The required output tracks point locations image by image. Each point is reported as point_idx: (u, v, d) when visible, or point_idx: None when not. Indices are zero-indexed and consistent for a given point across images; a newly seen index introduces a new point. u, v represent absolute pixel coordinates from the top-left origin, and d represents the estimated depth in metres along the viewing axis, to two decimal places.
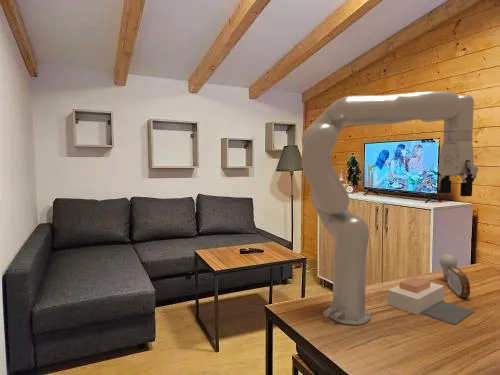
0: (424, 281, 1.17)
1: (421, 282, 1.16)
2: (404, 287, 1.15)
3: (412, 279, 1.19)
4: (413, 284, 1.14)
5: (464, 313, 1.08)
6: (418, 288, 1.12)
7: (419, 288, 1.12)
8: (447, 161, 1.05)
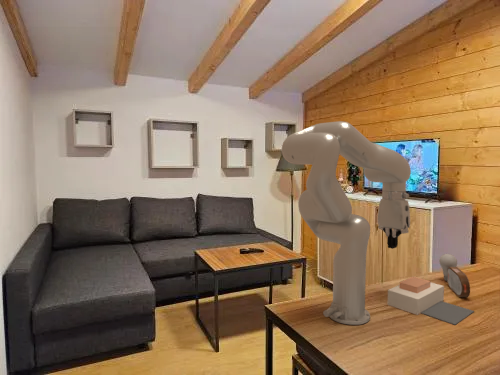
0: (424, 281, 1.17)
1: (421, 282, 1.16)
2: (404, 287, 1.15)
3: (412, 279, 1.19)
4: (413, 284, 1.14)
5: (464, 313, 1.08)
6: (418, 288, 1.12)
7: (419, 288, 1.12)
8: None
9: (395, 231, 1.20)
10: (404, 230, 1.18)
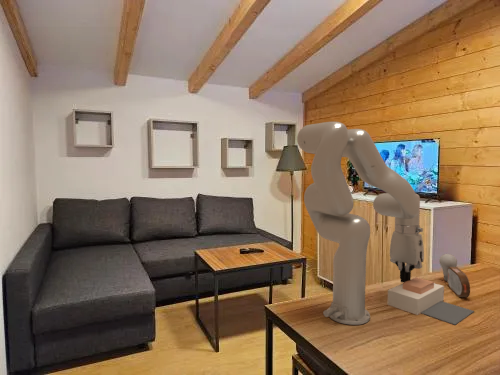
0: (427, 282, 1.16)
1: (425, 283, 1.15)
2: (407, 288, 1.14)
3: (415, 280, 1.18)
4: (417, 285, 1.13)
5: (464, 313, 1.08)
6: (422, 289, 1.11)
7: (422, 289, 1.12)
8: None
9: (408, 266, 1.17)
10: (418, 265, 1.15)
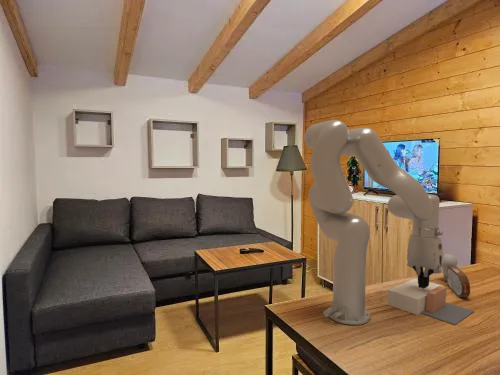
0: (443, 303, 1.13)
1: (440, 304, 1.11)
2: (429, 298, 1.09)
3: (441, 294, 1.11)
4: (435, 305, 1.09)
5: (464, 313, 1.08)
6: None
7: None
8: None
9: (427, 270, 1.12)
10: (437, 270, 1.10)
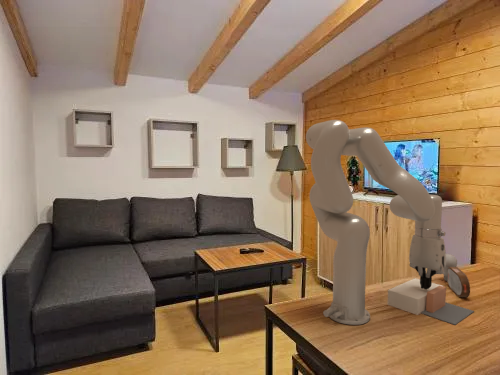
0: (442, 303, 1.13)
1: (440, 304, 1.11)
2: (428, 298, 1.09)
3: (441, 294, 1.11)
4: (435, 305, 1.09)
5: (464, 313, 1.08)
6: None
7: None
8: None
9: (429, 271, 1.11)
10: (440, 271, 1.10)
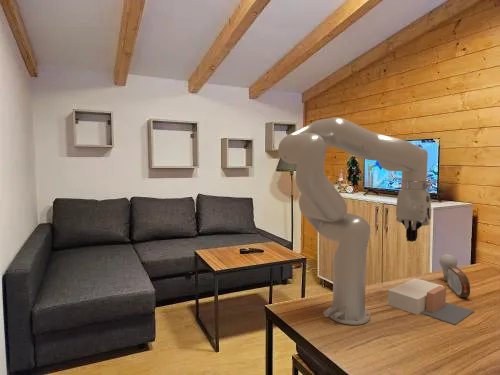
0: (442, 303, 1.13)
1: (440, 304, 1.11)
2: (428, 298, 1.09)
3: (441, 294, 1.11)
4: (435, 305, 1.09)
5: (464, 313, 1.08)
6: None
7: None
8: None
9: (415, 223, 1.14)
10: (425, 222, 1.12)
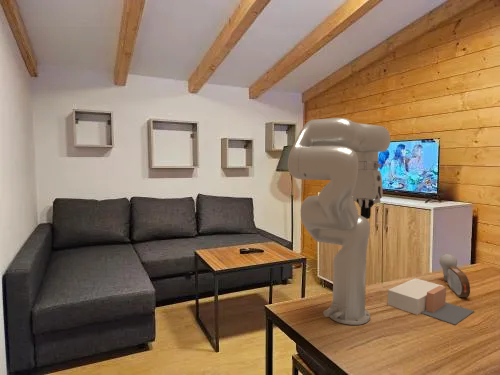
0: (442, 303, 1.13)
1: (440, 304, 1.11)
2: (428, 298, 1.09)
3: (441, 294, 1.11)
4: (435, 305, 1.09)
5: (464, 313, 1.08)
6: None
7: None
8: None
9: (368, 201, 1.21)
10: (376, 200, 1.19)
